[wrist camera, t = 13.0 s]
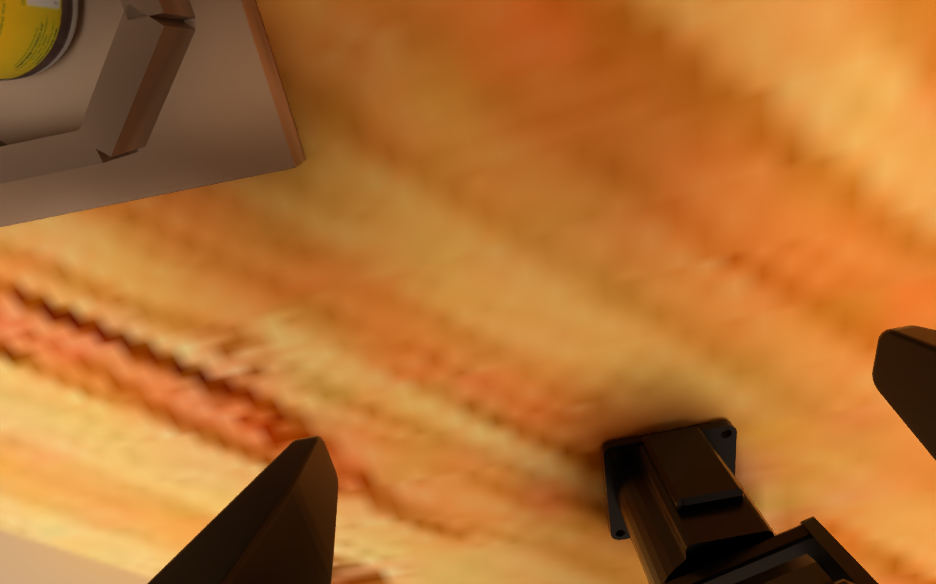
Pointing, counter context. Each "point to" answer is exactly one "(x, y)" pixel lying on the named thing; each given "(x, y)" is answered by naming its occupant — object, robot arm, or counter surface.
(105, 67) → the walnut stand
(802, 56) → the counter surface
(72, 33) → the supplement bottle
